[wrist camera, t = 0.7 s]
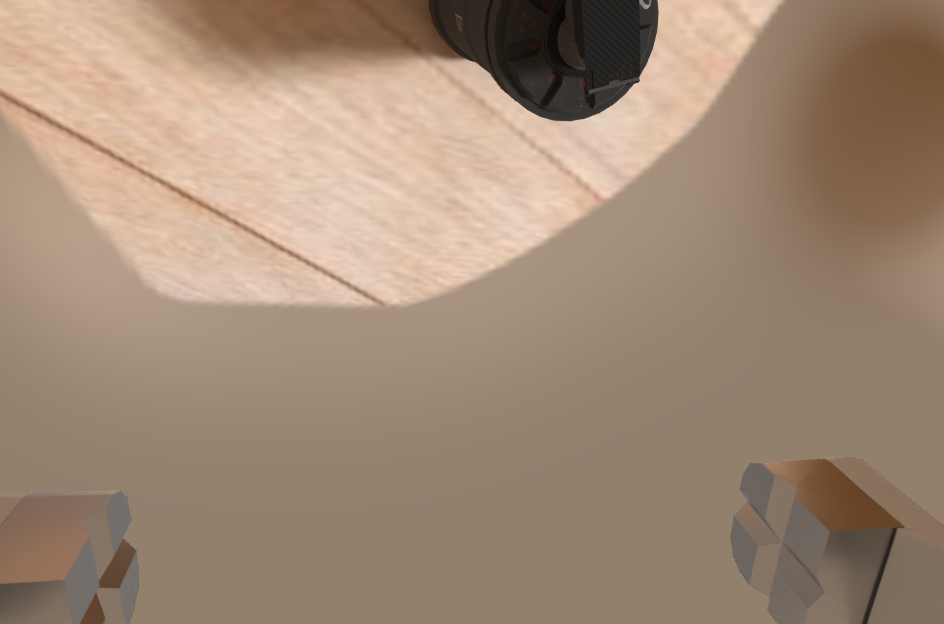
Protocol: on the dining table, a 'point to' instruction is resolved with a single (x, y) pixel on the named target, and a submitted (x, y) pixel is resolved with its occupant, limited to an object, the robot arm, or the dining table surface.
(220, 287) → the dining table surface
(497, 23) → the grenade
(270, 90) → the dining table surface
